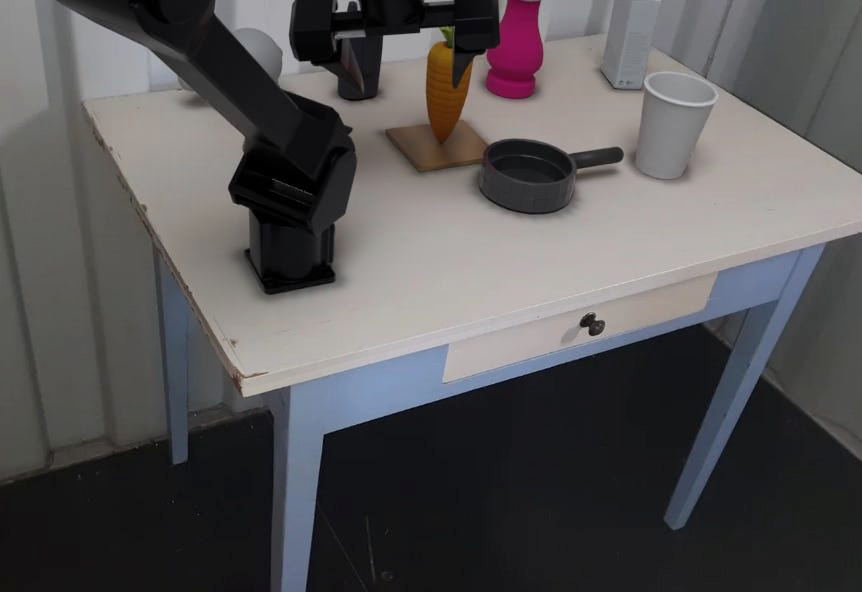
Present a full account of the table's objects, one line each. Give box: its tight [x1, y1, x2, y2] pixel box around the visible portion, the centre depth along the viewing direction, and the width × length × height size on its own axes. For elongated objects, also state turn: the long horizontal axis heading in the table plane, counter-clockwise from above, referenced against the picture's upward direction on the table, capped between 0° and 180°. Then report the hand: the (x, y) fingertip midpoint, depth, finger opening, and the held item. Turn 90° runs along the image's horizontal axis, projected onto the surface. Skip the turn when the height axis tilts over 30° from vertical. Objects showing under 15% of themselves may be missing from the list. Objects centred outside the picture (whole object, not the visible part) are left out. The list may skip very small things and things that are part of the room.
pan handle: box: [567, 146, 625, 170], centre depth 101 cm, size 8×2×2 cm, turn 119°
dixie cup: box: [634, 70, 720, 180], centre depth 104 cm, size 8×8×10 cm
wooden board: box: [384, 119, 490, 173], centre depth 104 cm, size 10×9×1 cm
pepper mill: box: [485, 0, 544, 99], centre depth 113 cm, size 7×7×20 cm
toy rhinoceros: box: [176, 27, 284, 92], centre depth 103 cm, size 7×12×8 cm, turn 117°
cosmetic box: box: [600, 0, 662, 90], centre depth 122 cm, size 6×4×12 cm
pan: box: [478, 137, 578, 214], centre depth 98 cm, size 10×10×4 cm
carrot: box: [425, 27, 475, 143], centre depth 99 cm, size 5×5×15 cm
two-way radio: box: [337, 0, 384, 100], centre depth 107 cm, size 6×4×15 cm
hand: (408, 88), depth 90 cm, fingers open, 9 cm apart
